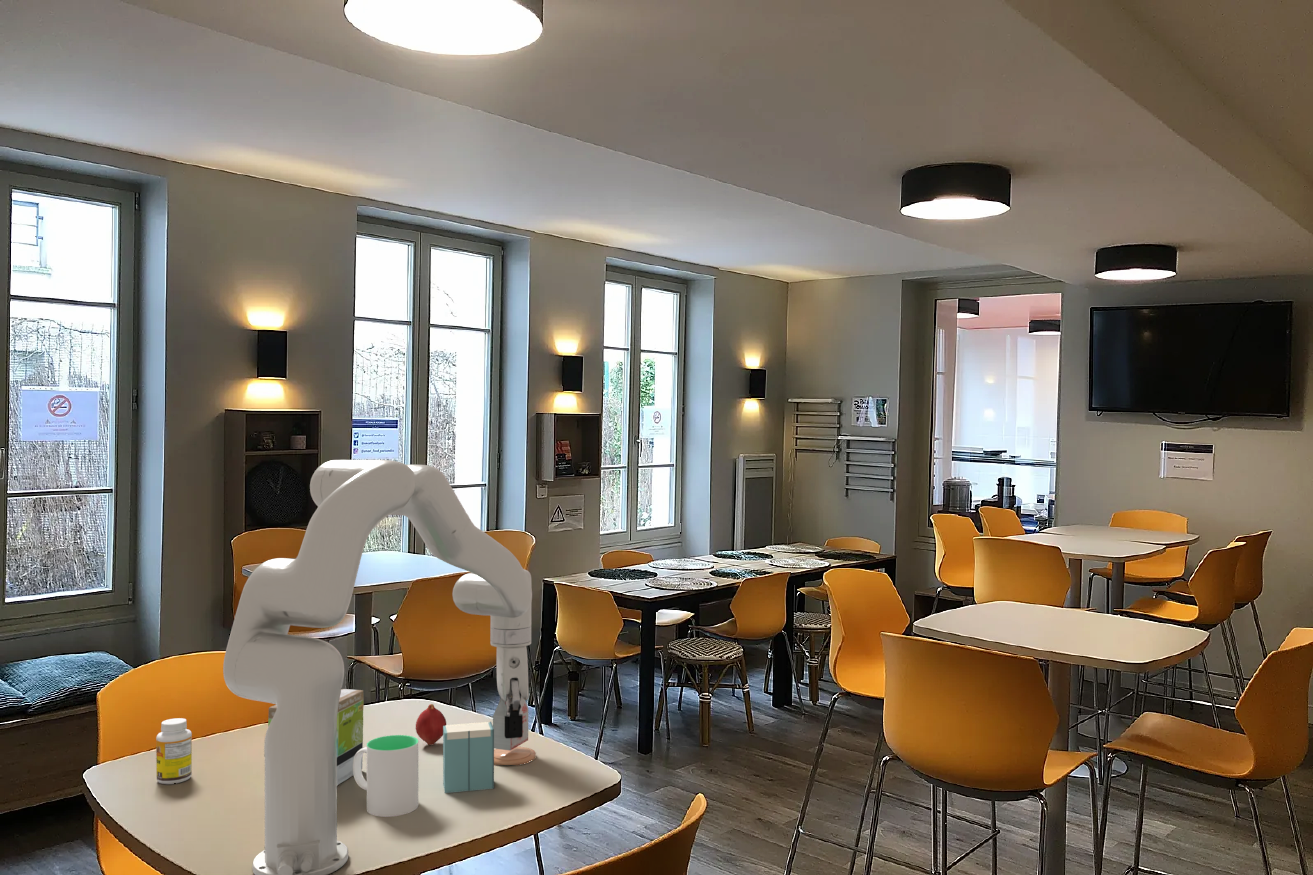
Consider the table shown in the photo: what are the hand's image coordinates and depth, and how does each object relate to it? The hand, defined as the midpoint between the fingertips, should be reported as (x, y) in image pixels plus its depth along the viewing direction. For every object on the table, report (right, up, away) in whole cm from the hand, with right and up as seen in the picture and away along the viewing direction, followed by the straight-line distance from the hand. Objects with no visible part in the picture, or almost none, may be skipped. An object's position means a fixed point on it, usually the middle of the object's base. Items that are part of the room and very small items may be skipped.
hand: (510, 730), depth 184 cm
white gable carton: (0, -3, 0) cm, 3 cm away
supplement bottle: (-57, -5, -11) cm, 58 cm away
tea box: (-32, -5, -13) cm, 34 cm away
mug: (-17, -5, -23) cm, 29 cm away
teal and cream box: (-5, -5, -15) cm, 16 cm away
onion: (-17, -5, +8) cm, 19 cm away
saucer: (0, -5, 0) cm, 5 cm away
